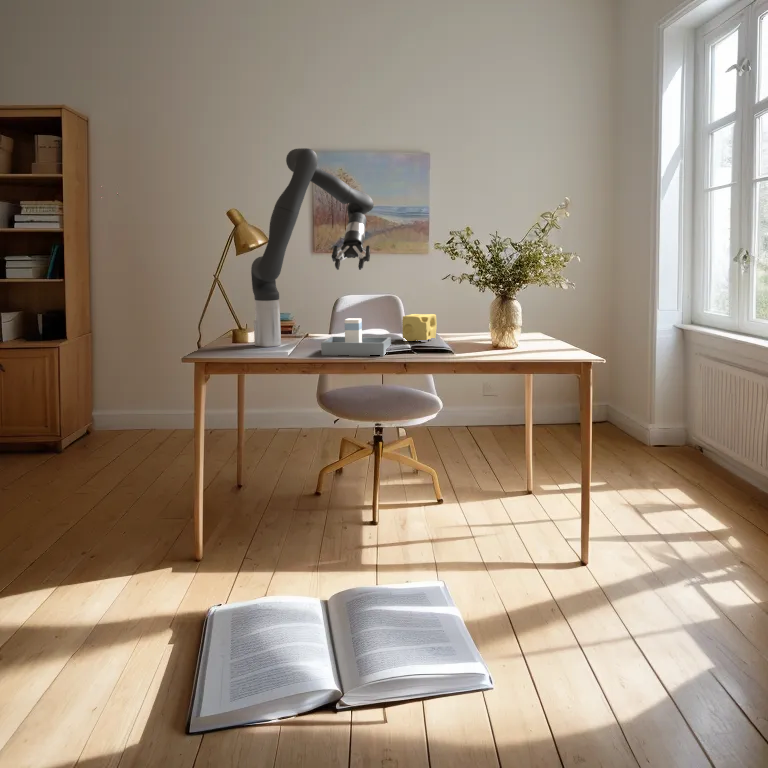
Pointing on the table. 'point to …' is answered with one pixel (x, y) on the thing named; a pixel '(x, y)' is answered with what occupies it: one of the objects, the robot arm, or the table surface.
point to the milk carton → (353, 330)
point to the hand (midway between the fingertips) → (348, 268)
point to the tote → (355, 346)
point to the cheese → (419, 327)
